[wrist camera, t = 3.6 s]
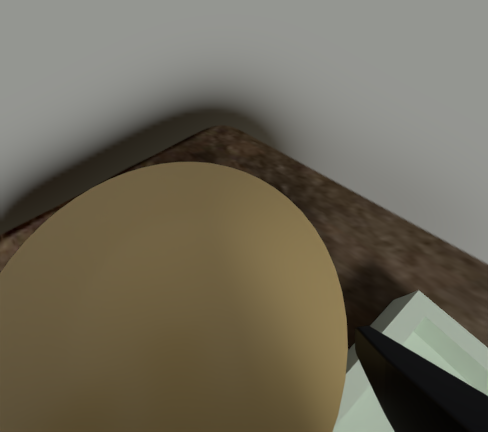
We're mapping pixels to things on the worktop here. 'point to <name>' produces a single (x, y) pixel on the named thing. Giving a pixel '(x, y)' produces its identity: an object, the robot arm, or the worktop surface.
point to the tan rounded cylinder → (173, 311)
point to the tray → (422, 343)
